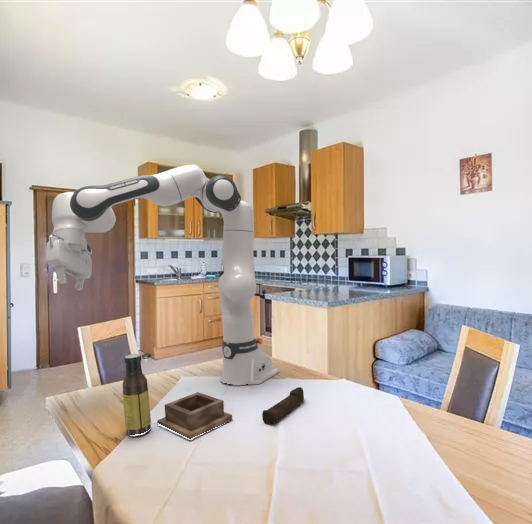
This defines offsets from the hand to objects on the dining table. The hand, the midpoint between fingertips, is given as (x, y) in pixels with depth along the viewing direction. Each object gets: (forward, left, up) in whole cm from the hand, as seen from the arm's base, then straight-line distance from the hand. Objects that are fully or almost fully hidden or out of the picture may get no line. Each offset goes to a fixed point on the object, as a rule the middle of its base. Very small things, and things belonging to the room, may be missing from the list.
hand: (71, 286), depth 110 cm
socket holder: (-16, +36, -37) cm, 54 cm away
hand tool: (-36, +51, -38) cm, 73 cm away
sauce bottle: (-4, +28, -37) cm, 47 cm away
